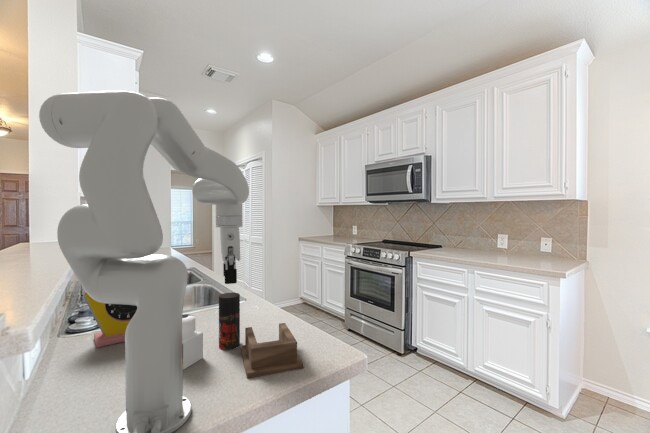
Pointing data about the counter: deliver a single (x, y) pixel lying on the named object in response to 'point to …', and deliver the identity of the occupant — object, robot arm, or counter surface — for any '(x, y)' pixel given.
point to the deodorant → (229, 321)
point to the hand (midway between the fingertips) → (229, 279)
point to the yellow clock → (110, 320)
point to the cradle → (270, 353)
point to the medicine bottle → (190, 342)
